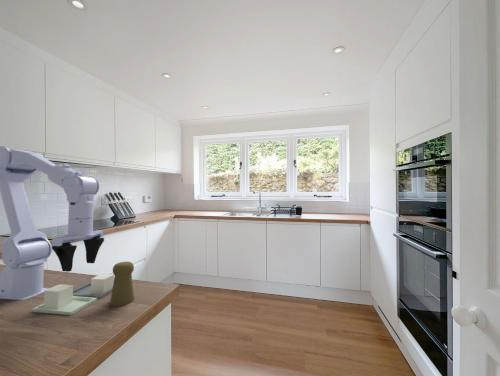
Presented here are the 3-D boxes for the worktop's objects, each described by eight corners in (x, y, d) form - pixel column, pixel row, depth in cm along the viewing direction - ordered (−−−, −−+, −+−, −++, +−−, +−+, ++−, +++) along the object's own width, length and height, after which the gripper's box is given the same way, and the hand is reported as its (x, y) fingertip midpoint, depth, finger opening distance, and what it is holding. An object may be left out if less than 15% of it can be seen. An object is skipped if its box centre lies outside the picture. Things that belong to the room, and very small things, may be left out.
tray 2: (65, 297, 67) (65, 293, 67) (90, 286, 76) (90, 282, 76) (99, 300, 66) (99, 296, 66) (121, 288, 75) (121, 284, 75)
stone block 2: (90, 294, 69) (91, 278, 69) (101, 288, 73) (101, 274, 73) (103, 295, 68) (103, 279, 68) (113, 289, 72) (114, 274, 73)
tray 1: (32, 313, 58) (32, 308, 58) (62, 299, 66) (62, 295, 66) (71, 317, 57) (71, 312, 57) (96, 302, 65) (97, 297, 65)
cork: (123, 308, 61) (125, 266, 62) (104, 306, 62) (105, 264, 63) (139, 299, 67) (140, 260, 67) (121, 296, 68) (122, 259, 69)
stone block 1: (43, 308, 60) (44, 290, 60) (59, 300, 64) (59, 284, 64) (58, 309, 59) (58, 291, 60) (72, 302, 64) (73, 285, 64)
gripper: (69, 221, 58) (67, 276, 58) (112, 216, 73) (111, 260, 72) (45, 220, 60) (43, 274, 59) (92, 216, 74) (91, 259, 73)
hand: (79, 266), depth 66 cm, fingers open, 7 cm apart
